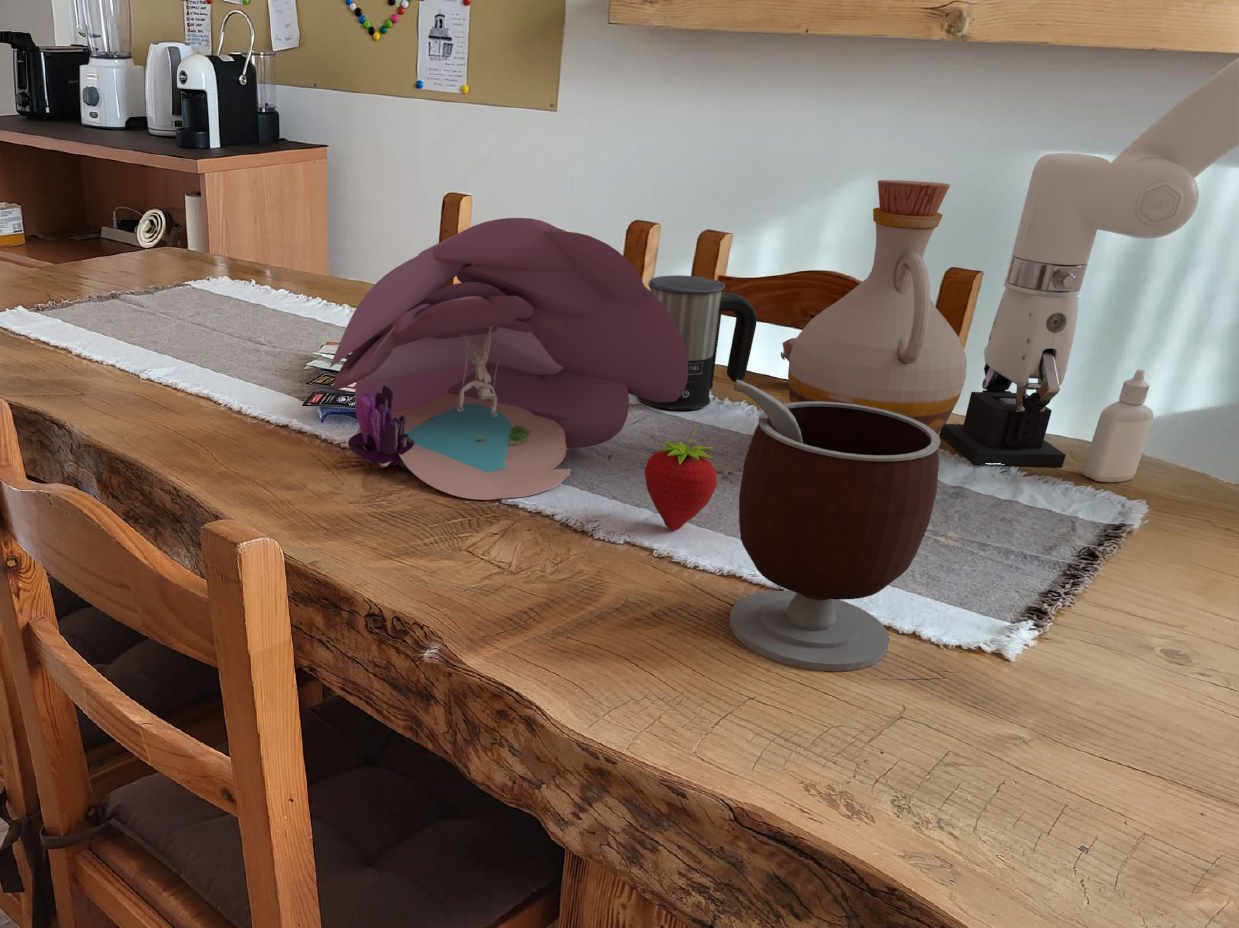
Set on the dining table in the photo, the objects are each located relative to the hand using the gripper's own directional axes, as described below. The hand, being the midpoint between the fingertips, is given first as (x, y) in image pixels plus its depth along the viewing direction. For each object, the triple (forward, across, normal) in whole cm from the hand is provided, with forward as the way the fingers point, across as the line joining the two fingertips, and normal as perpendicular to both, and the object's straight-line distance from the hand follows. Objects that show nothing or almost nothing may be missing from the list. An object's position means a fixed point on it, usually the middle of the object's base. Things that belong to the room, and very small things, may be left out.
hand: (1002, 433), depth 134 cm
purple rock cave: (+3, -9, +60) cm, 61 cm away
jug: (+2, -7, +19) cm, 20 cm away
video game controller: (+2, +26, +15) cm, 30 cm away
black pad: (+1, 0, 0) cm, 1 cm away
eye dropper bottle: (+2, -8, -9) cm, 12 cm away
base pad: (+2, 0, 0) cm, 2 cm away
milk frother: (+3, +20, +34) cm, 39 cm away
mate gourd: (+2, -45, +37) cm, 58 cm away
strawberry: (+2, -25, +43) cm, 50 cm away
